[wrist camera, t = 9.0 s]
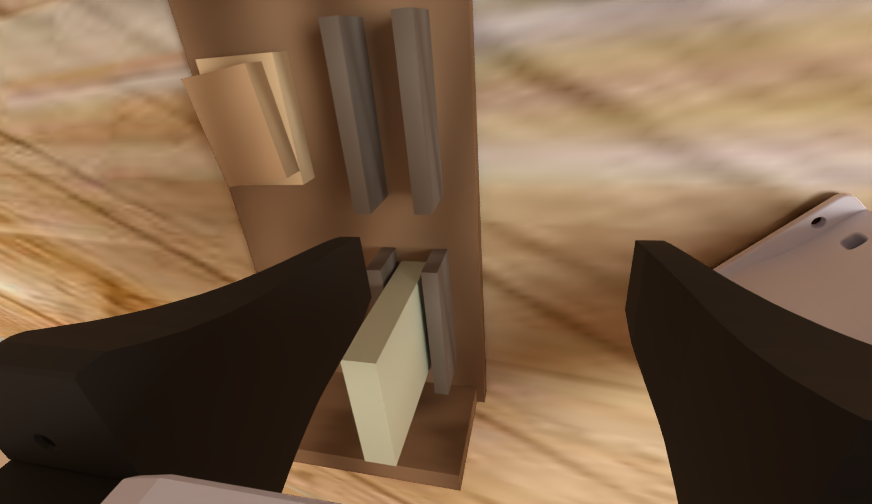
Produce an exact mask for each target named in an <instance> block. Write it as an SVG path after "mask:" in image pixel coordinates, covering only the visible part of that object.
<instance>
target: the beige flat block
mask: <svg viewBox="0 0 872 504" xmlns="http://www.w3.org/2000/svg"><path fill="white" fill-rule="evenodd" d="M425 263H426V262H418V261H401V262H400V264H399V266H398V267H397V269H396V270H395V272H394V274H393V275H392V277H391V279H390V280H389V282H388V283H387V285H386V287H385V288H384V290H383V291H382V293H381V295H380V296H379V298H378V299H377V301H376V303H375V304H374V306H373V307H372V309H371V311H370V312H369V314H368V315H367V317H366V319H365V320H364V322H363V324H362V325H361V327H360V328H359V330H358V332H357V334H356V336H355V337H354V339H353V341H352V343H351V345H350V346H349V348H348V350H347V352H346V353H345V355H344V357H343V358H342V360H341V362H340V363H341V367H342V371H343V375H344V379H345V383H346V387H347V391H348V395H349V399H350V403H351V407H352V411H353V415H354V419H355V423H356V427H357V431H358V435H359V439H360V443H361V447H362V451H363V455H364V459H365V461H367V462H373V463H380V464H386V465H392V466H397V463H398V460H399V457H400V454H401V451H402V448H403V445H404V442H405V439H406V436H407V433H408V430H409V427H410V425H411V422H412V419H413V416H414V413H415V410H416V407H417V404H418V401H419V398H420V395H421V392H422V389H423V386H424V384H425V381H426V378H427V375H428V372H429V369H430V366H431V357H430V348H429V339H428V331H427V322H426V313H425V304H424V296H423V287H422V278H421V271H422V269H423V267H424V265H425Z"/></svg>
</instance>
